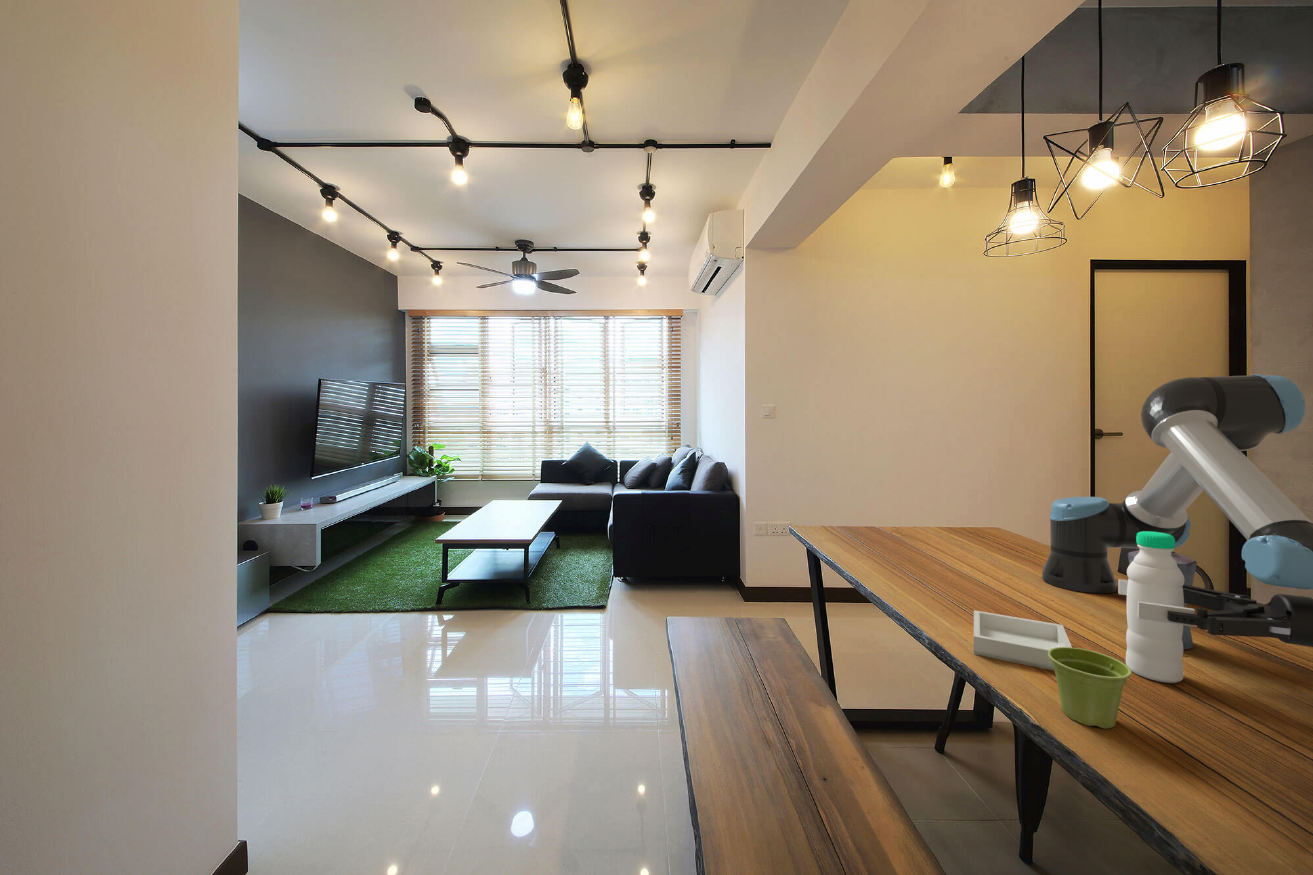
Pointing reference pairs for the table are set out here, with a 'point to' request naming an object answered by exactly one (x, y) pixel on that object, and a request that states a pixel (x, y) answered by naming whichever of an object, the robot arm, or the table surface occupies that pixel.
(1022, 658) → the white tray
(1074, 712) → the plant pot
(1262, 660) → the table surface
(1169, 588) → the water bottle
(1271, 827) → the table surface
